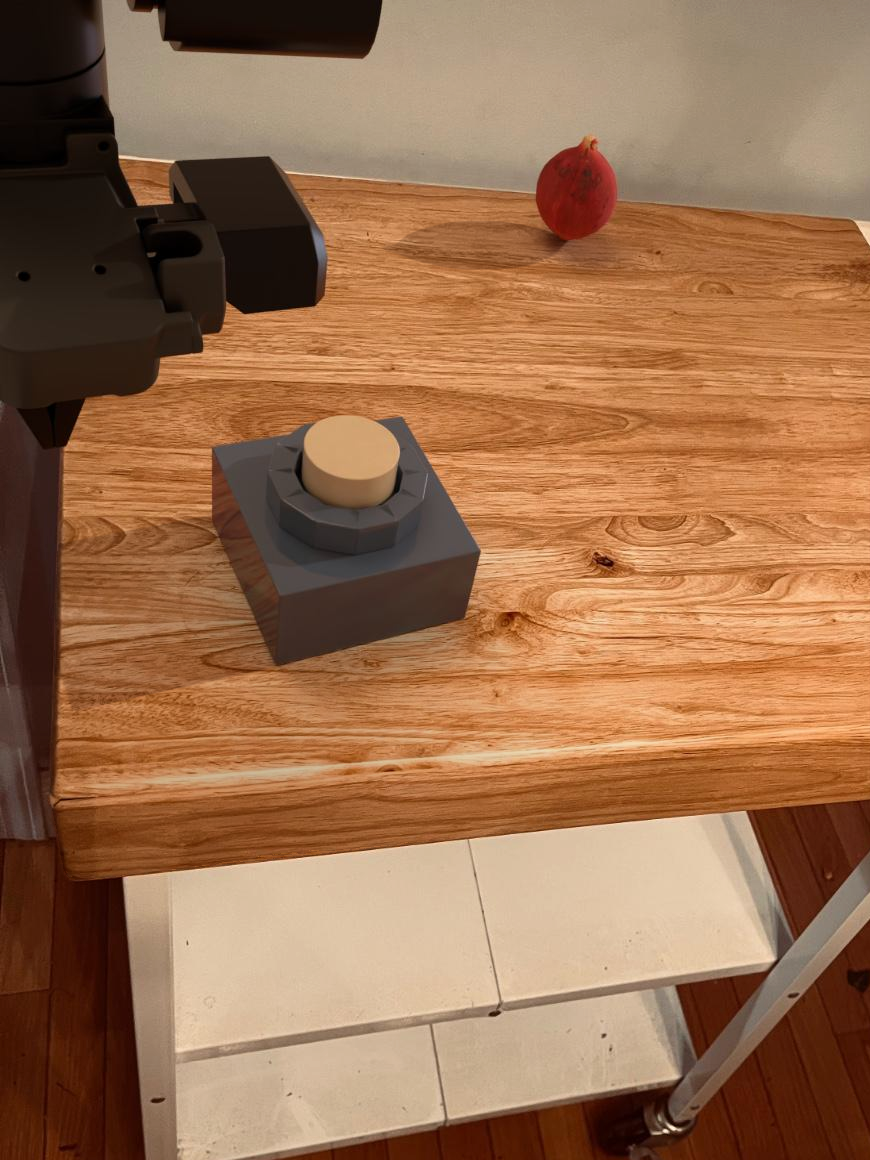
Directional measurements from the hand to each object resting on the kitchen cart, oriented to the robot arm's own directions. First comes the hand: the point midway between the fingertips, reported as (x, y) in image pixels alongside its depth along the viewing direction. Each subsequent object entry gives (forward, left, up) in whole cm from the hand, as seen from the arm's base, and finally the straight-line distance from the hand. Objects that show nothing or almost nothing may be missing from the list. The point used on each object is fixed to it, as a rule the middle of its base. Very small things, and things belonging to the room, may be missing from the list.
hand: (52, 441), depth 45 cm
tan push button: (+11, +7, -6) cm, 14 cm away
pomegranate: (+24, +42, -13) cm, 50 cm away
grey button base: (+11, +7, -13) cm, 18 cm away
